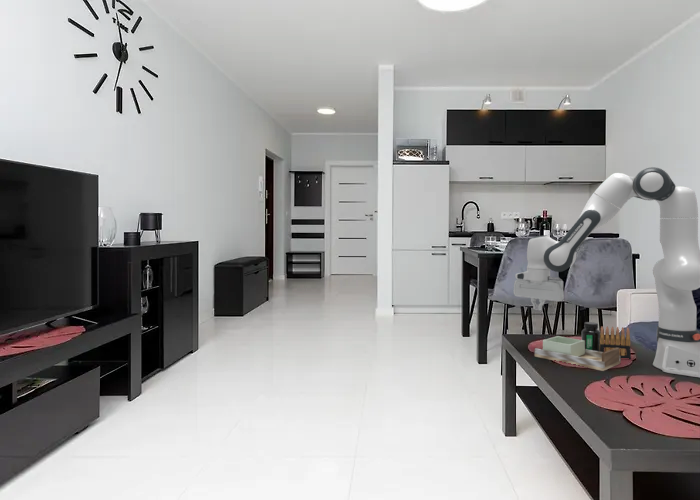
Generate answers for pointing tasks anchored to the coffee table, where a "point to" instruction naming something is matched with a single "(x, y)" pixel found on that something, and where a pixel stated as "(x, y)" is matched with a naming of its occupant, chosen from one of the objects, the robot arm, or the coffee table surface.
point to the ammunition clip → (616, 342)
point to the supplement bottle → (591, 336)
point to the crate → (565, 345)
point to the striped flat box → (585, 358)
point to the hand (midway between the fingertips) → (537, 309)
